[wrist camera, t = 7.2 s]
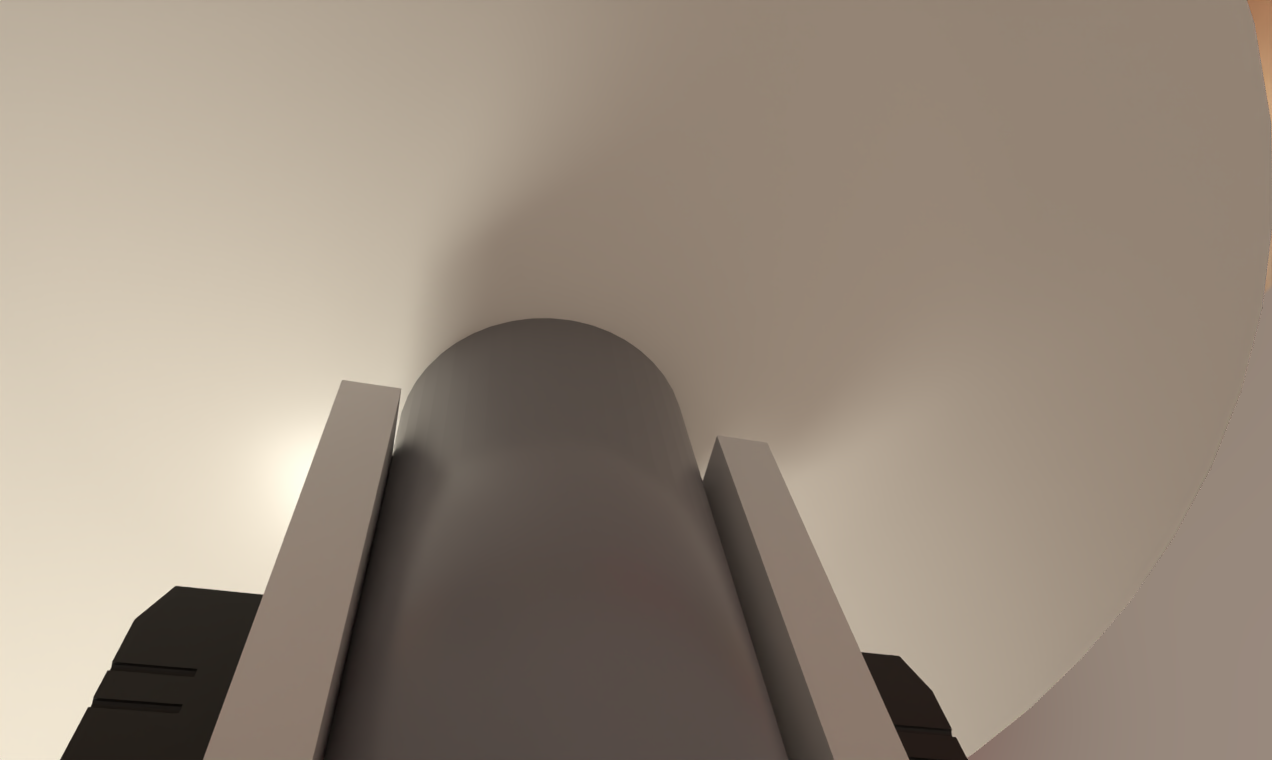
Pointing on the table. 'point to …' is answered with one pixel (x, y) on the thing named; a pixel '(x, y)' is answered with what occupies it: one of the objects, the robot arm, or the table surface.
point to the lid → (617, 336)
